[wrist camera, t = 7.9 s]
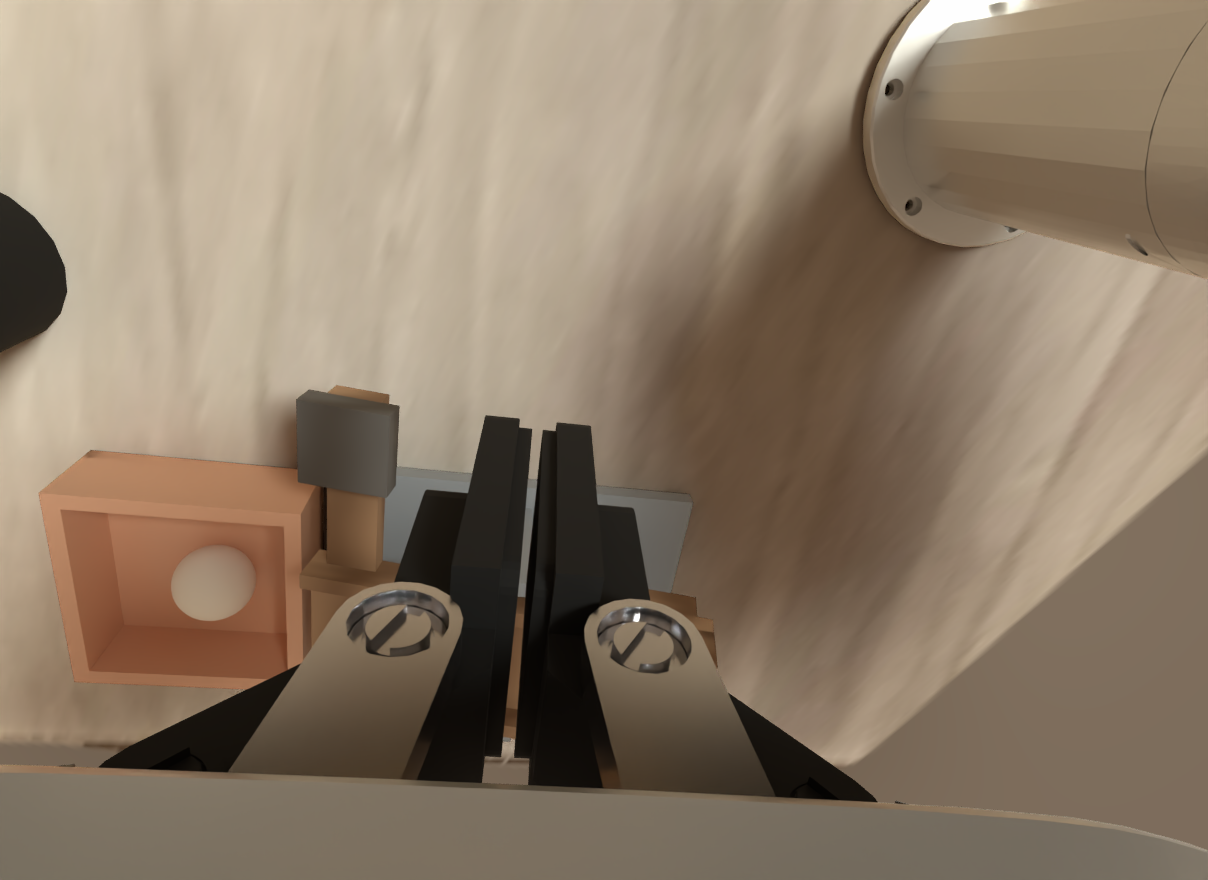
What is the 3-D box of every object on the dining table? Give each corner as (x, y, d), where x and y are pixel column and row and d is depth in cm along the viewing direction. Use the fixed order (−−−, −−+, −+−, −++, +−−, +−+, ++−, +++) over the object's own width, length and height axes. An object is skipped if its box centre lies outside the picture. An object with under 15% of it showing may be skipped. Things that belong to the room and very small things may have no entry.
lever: (749, 434, 35) (768, 496, 29) (678, 695, 42) (681, 788, 36) (345, 361, 35) (282, 409, 29) (342, 635, 42) (290, 718, 36)
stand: (689, 494, 42) (724, 575, 35) (648, 663, 47) (670, 763, 40) (336, 461, 39) (295, 543, 32) (335, 646, 44) (299, 752, 37)
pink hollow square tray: (323, 471, 39) (300, 514, 35) (323, 637, 44) (303, 691, 40) (90, 450, 37) (38, 493, 33) (117, 625, 42) (74, 681, 38)
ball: (264, 533, 39) (240, 576, 36) (266, 591, 41) (243, 638, 38) (186, 527, 39) (153, 571, 35) (192, 587, 40) (161, 635, 37)
